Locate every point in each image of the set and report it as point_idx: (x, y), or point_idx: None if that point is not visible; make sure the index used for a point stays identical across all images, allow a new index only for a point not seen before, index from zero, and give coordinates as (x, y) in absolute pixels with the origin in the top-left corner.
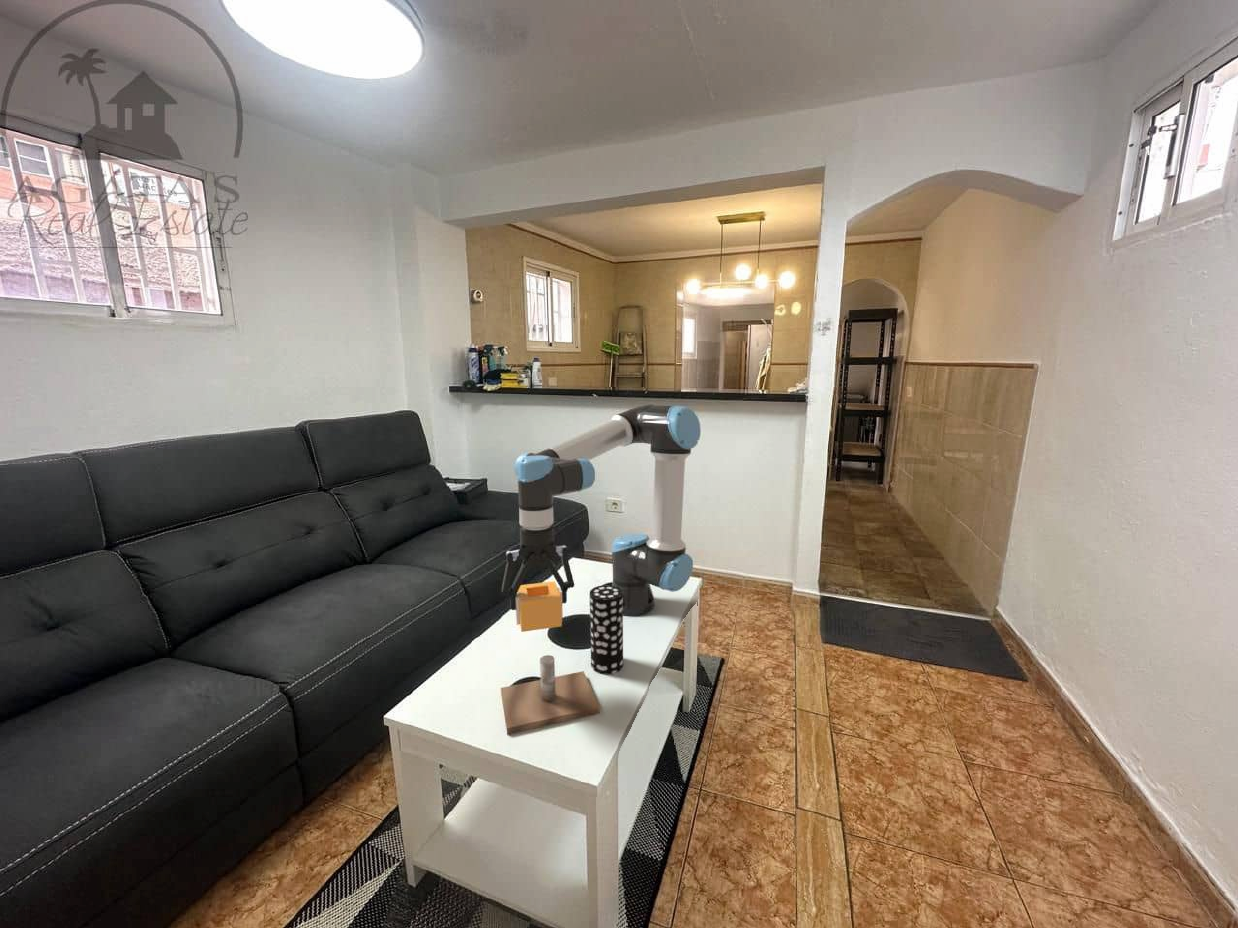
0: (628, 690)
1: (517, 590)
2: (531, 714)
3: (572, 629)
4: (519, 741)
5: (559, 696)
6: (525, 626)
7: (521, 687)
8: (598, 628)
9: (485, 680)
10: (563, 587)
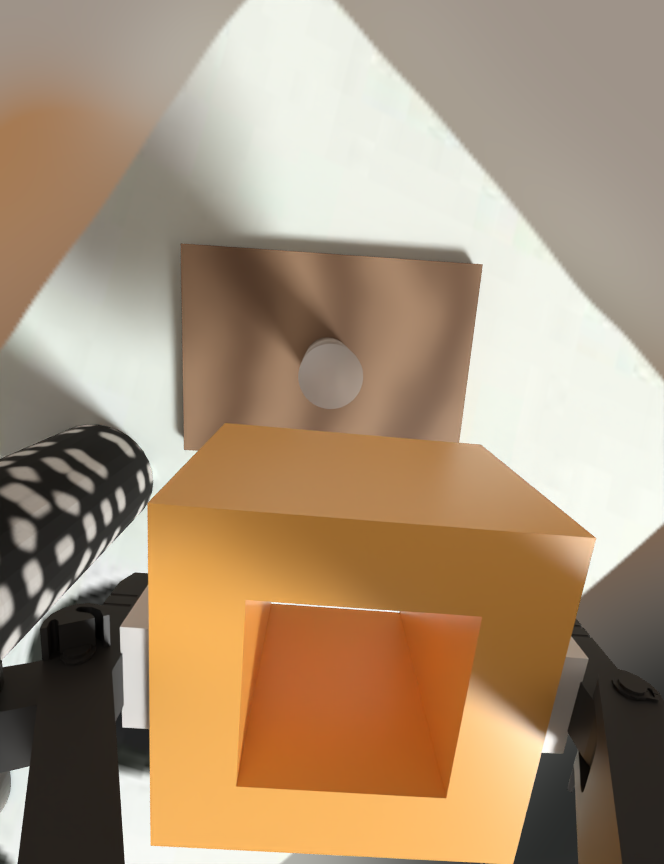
0: (63, 319)
1: (613, 726)
2: (397, 298)
3: None
4: (449, 222)
5: (293, 350)
6: (464, 452)
7: None
8: (38, 507)
9: None
10: (78, 667)
